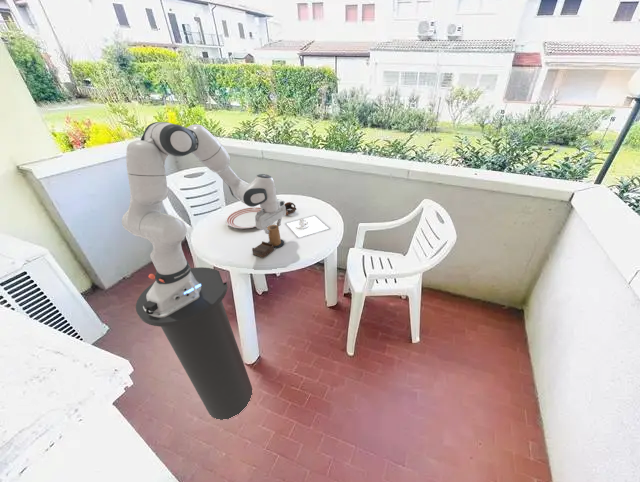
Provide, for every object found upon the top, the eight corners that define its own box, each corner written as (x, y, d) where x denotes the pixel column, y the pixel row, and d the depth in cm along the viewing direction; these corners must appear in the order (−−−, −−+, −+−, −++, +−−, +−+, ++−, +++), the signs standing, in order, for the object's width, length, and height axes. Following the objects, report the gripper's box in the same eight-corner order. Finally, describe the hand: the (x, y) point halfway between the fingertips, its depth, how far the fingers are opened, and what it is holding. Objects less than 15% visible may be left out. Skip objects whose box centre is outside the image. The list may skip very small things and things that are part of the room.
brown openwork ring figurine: (298, 209, 194) (298, 202, 187) (293, 220, 190) (293, 214, 182) (281, 204, 194) (281, 197, 186) (276, 215, 189) (275, 208, 182)
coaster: (277, 249, 152) (277, 249, 152) (264, 245, 155) (264, 245, 155) (287, 242, 159) (287, 241, 159) (274, 238, 162) (274, 237, 162)
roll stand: (263, 258, 146) (262, 252, 144) (253, 254, 148) (251, 248, 146) (274, 250, 152) (273, 244, 150) (264, 246, 155) (262, 240, 152)
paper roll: (267, 244, 156) (276, 247, 153) (264, 228, 150) (273, 231, 148) (274, 239, 160) (283, 241, 158) (272, 223, 154) (280, 226, 152)
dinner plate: (257, 234, 165) (256, 229, 163) (217, 228, 171) (216, 223, 169) (279, 214, 187) (279, 209, 185) (243, 209, 193) (242, 204, 191)
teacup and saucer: (306, 221, 179) (306, 215, 177) (312, 226, 174) (311, 220, 171) (293, 224, 175) (293, 219, 173) (298, 230, 170) (298, 224, 168)
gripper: (260, 215, 135) (264, 239, 143) (286, 199, 150) (289, 222, 158) (250, 212, 137) (255, 236, 145) (277, 197, 153) (280, 220, 160)
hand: (273, 229), depth 152 cm, fingers open, 8 cm apart
